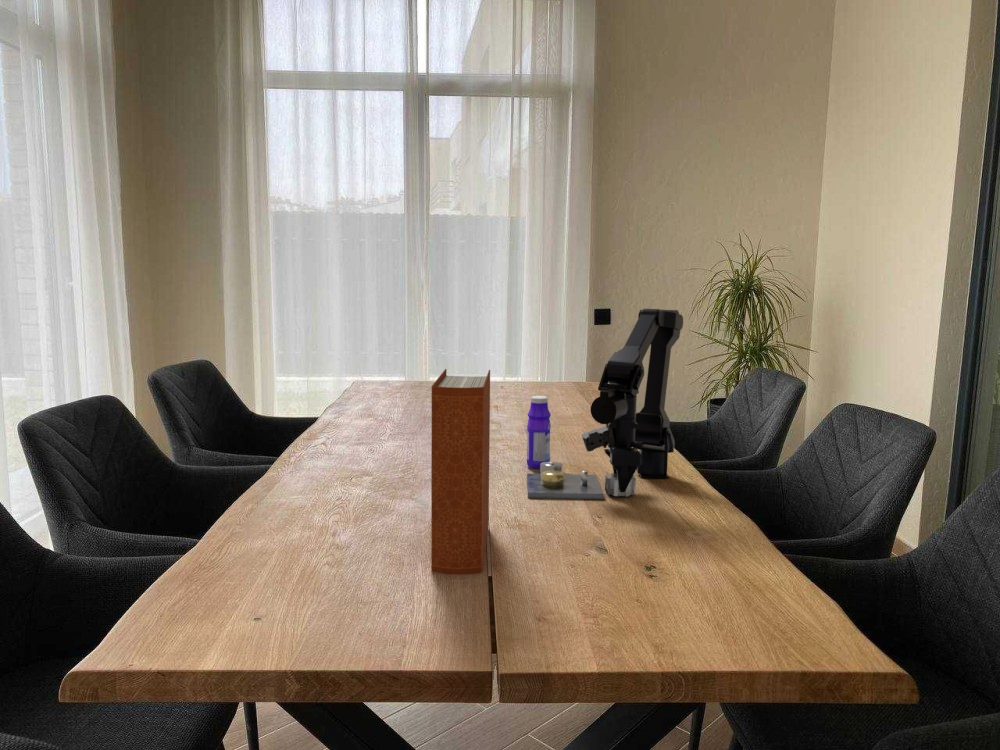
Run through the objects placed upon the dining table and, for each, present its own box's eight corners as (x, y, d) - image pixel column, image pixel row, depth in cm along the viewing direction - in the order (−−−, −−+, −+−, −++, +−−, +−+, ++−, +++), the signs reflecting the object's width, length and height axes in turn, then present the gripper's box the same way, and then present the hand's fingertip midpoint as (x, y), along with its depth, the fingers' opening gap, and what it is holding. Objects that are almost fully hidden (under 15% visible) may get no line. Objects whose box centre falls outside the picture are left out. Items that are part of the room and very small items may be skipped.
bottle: (547, 470, 193) (549, 399, 191) (524, 469, 194) (525, 398, 192) (551, 463, 200) (553, 395, 198) (529, 462, 201) (530, 394, 199)
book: (444, 527, 149) (445, 368, 145) (488, 528, 149) (490, 369, 145) (430, 574, 127) (430, 387, 123) (481, 575, 126) (483, 388, 123)
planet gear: (632, 488, 176) (633, 473, 176) (636, 496, 170) (637, 480, 169) (603, 488, 176) (604, 472, 176) (606, 496, 170) (607, 480, 169)
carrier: (595, 479, 185) (596, 460, 184) (603, 499, 169) (604, 478, 169) (526, 478, 185) (527, 459, 185) (528, 498, 169) (528, 477, 169)
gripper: (581, 408, 180) (579, 476, 182) (588, 424, 162) (586, 499, 164) (630, 409, 180) (628, 476, 182) (643, 425, 162) (641, 500, 164)
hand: (620, 487), depth 173 cm, fingers closed on planet gear, 6 cm apart
